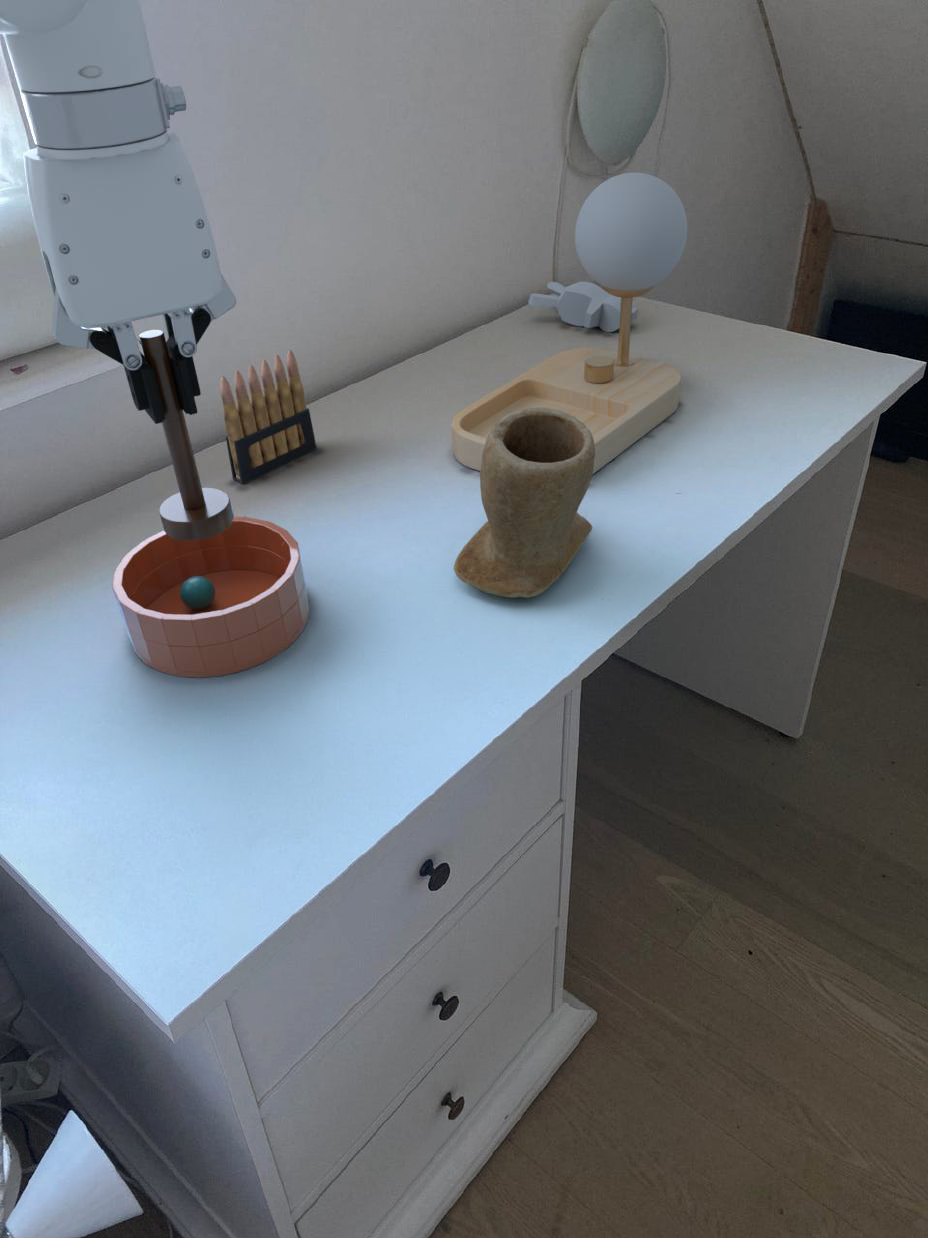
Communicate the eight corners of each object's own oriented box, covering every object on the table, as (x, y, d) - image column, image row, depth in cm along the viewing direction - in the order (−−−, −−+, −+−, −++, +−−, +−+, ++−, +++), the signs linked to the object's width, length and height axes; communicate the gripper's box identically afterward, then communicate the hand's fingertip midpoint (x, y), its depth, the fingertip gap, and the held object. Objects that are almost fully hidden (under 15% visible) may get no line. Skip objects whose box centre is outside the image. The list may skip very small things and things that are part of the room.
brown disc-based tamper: (176, 548, 69) (123, 354, 60) (155, 518, 72) (102, 331, 64) (243, 526, 71) (201, 335, 62) (220, 498, 74) (177, 314, 66)
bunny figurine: (619, 312, 129) (524, 284, 135) (613, 348, 132) (521, 319, 138) (648, 291, 135) (556, 265, 141) (641, 326, 139) (552, 299, 144)
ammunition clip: (306, 444, 111) (291, 344, 103) (317, 448, 110) (301, 348, 102) (232, 479, 105) (210, 376, 97) (242, 484, 104) (220, 381, 96)
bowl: (159, 702, 76) (141, 644, 72) (111, 605, 87) (93, 550, 83) (337, 635, 82) (328, 578, 78) (271, 552, 92) (260, 499, 89)
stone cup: (555, 623, 81) (559, 469, 72) (438, 588, 86) (427, 439, 77) (623, 538, 92) (633, 393, 83) (514, 510, 97) (513, 371, 88)
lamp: (561, 499, 98) (566, 248, 83) (433, 457, 107) (416, 222, 92) (707, 388, 118) (733, 169, 103) (589, 359, 127) (597, 154, 112)
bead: (172, 600, 85) (183, 614, 82) (179, 569, 84) (190, 582, 81) (205, 603, 86) (216, 616, 84) (211, 572, 85) (223, 584, 83)
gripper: (207, 94, 61) (257, 368, 72) (-55, 128, 55) (44, 422, 66) (248, 109, 55) (295, 402, 67) (-37, 149, 49) (68, 464, 61)
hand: (170, 410), depth 66 cm, fingers closed on brown disc-based tamper
